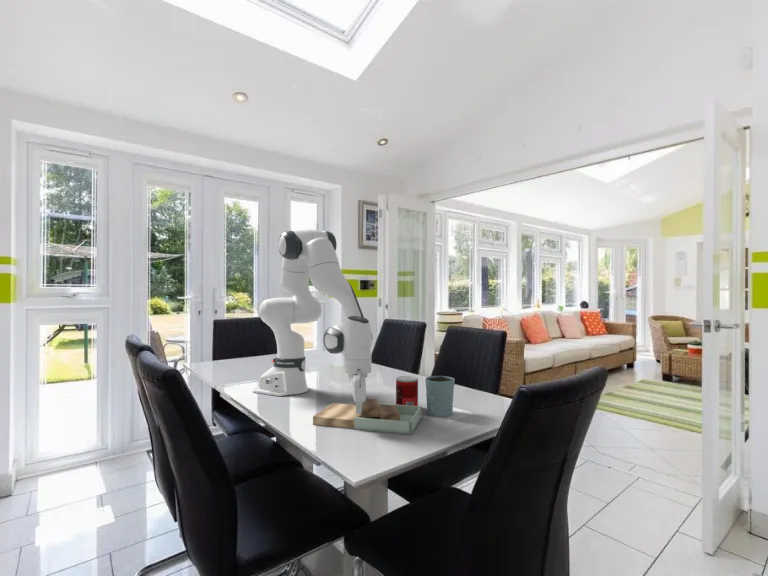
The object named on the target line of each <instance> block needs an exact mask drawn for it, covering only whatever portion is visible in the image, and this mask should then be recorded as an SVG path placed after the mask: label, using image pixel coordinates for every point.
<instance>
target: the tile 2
mask: <svg viewBox="0 0 768 576" xmlns="http://www.w3.org/2000/svg"><path fill="white" fill-rule="evenodd" d="M395 405H396V404H395ZM395 405H380V417H378V418H379V419H383V420H395V421H400V413H399V411H398V410H397V408H396V406H395Z"/></svg>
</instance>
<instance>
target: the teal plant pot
mask: <svg viewBox="0 0 768 576" xmlns="http://www.w3.org/2000/svg"><path fill="white" fill-rule="evenodd" d="M424 381H425V382H424V383H425V391H426V394H425V395H426V396H425V397H426V412H427V414H428V415H429V416H431V417H437V418H445V417H451V416H452V415H453V410H454V409H453V408H454V405H453V404H454V403H453V402H454V388H455V381H456V380H455V378H453V377H451V376H446V375H445V376H444V375H431V376H430V375H429V376H426V377H425V379H424Z"/></svg>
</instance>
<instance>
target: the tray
mask: <svg viewBox="0 0 768 576" xmlns="http://www.w3.org/2000/svg"><path fill="white" fill-rule="evenodd" d="M378 403H379V402H378ZM379 405H395V406H396V408H397V410H398V411H399V413H400V421H395V420H383V419H379V418H378V417H364V418H360V417H355V418H354V428H353V429H354V430H358V431H369V432H381V433H389V434H401V435H409V436H410V435H411V436H412V435H413V433H414V431H415V429H416V428H417V426H418V425H419V422H420V421H421V419H422V417H423V412H422V411H423V407H422V406H420V405H418V406H408V405H396V403H395V404H394V403H392V404H391V403H381V402H380V403H379Z"/></svg>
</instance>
